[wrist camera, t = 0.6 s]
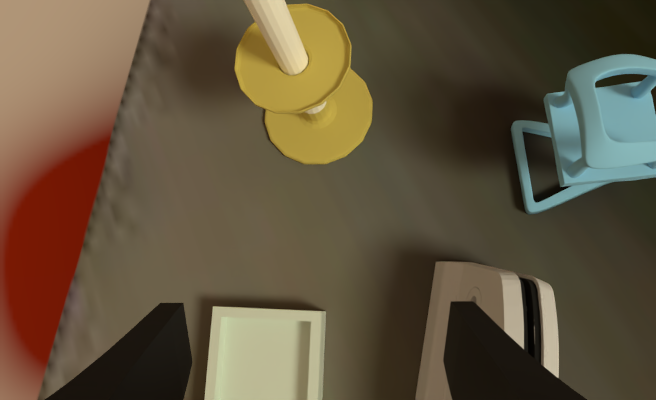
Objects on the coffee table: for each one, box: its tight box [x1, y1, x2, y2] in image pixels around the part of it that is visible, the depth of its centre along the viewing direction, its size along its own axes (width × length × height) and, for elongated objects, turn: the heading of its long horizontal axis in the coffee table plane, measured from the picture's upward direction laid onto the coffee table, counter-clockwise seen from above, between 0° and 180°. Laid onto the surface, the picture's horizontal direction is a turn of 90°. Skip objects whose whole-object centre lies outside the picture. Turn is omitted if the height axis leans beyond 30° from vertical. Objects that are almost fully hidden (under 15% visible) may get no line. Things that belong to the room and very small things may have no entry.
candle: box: [234, 0, 373, 164], centre depth 29 cm, size 10×10×27 cm
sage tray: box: [204, 306, 326, 400], centre depth 37 cm, size 9×9×2 cm
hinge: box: [415, 261, 559, 400], centre depth 32 cm, size 17×5×10 cm, turn 169°
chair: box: [511, 54, 656, 214], centre depth 32 cm, size 8×8×12 cm
